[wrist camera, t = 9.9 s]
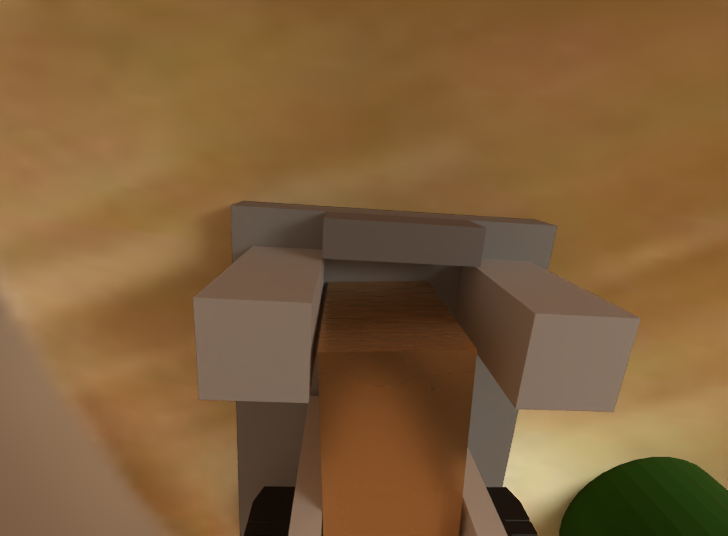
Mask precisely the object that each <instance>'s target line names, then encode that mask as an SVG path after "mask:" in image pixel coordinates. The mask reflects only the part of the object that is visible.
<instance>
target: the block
mask: <svg viewBox="0 0 728 536" xmlns="http://www.w3.org/2000/svg"><path fill="white" fill-rule="evenodd" d="M476 357H477V349H476V347H475V346H474V344H473V343H472V342H471V340H470V339H469V337H468V336H467V335H466V333H465V332H464V330H463V329H462V328H461V326H460V325H459V323H458V322H457V321H456V319H455V318H454V316H453V315H452V314H451V312H450V311H449V309H448V308H447V307H446V305H445V304H444V302H443V301H442V300H441V298H440V297H439V296H438V294H437V293H436V291H435V290H434V289H433V287H432V286H431V284H430V283H429V282H428V281H358V282H328V287H327V294H326V301H325V307H324V314H323V321H322V327H321V334H320V341H319V347H318V378H319V410H320V443H321V476H322V508H323V536H459V528H460V518H461V508H462V498H463V488H464V478H465V468H466V458H467V448H468V438H469V428H470V418H471V408H472V398H473V387H474V377H475V367H476Z"/></svg>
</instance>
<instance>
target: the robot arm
mask: <svg viewBox="0 0 728 536" xmlns="http://www.w3.org/2000/svg"><path fill="white" fill-rule="evenodd" d="M322 523H323V508H322V476H321V443H320V410H319V396H310V397H309V403H308V407H307V413H306V420H305V427H304V433H303V440H302V447H301V453H300V460H299V467H298V473H297V480H296V487H286V486H264V487H263V489H262V490H261V491H260V493H259V494H258V495H257V497H256V498H255V499H254V501H253V503H252V507H251V510H250V514H249V518H248V523H247V525H246V529H245V532H244V536H322ZM459 536H537V532H536V531H535V529H534V527H533V525H532V523H531V522H530V521H529V517H528V516H527V514H526V512H525V510H524V508H523V506H522V504H521V502H520V501H519V500H518V499H517V498H516V497H515V496H514V495H513V494H512V493H511V492H510V491H509V490H508V489H507V488H506V487H486V486H485V484H484V482H483V480H482V477H481V475H480V473H479V471H478V468H477V466H476V464H475V462H474V460H473V457H472V455H471V453H470V451H469V448H467V458H466V468H465V478H464V488H463V498H462V508H461V518H460V528H459Z"/></svg>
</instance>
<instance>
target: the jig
mask: <svg viewBox="0 0 728 536" xmlns="http://www.w3.org/2000/svg"><path fill="white" fill-rule="evenodd" d="M556 229H557V226H556V225H552V224H549V223H545V222H542V221H538V220H532V219H516V218H500V217H485V216H469V215H453V214H438V213H422V212H407V211H391V210H375V209H360V208H344V207H329V206H313V205H297V204H282V203H266V202H250V201H242V202H239V203H236V204H233V205H231V234H232V264H231V265H230V266H229V267H228V268H227V269H226V270H224V271H223V272H222V273H221V274H220V275H219V276H217V277H216V278H215V279H214V280H213V281H212V282H210V283H209V284H208V285H207V286H206V287H205V288H203V289H202V290H201V291H200V292H199V293H198V294H197V295H195V296H194V297H193V306H194V323H195V340H196V357H197V374H198V391H199V400H221V401H236V412H237V447H238V483H239V518H240V536H244V532H245V529H246V525H247V523H248V518H249V514H250V510H251V507H252V503H253V501H254V499H255V498H256V497H257V495H258V494H259V493H260V491H261V490H262V489H263V487H264V486H286V487H296V480H297V473H298V467H299V460H300V453H301V447H302V440H303V433H304V427H305V420H306V413H307V407H308V403H309V397H310V396H319V378H318V347H319V341H320V334H321V327H322V321H323V314H324V307H325V301H326V294H327V287H328V282H358V281H428V282H429V283H430V284H431V286H432V287H433V289H434V290H435V291H436V293H437V294H438V296H439V297H440V298H441V300H442V301H443V302H444V304H445V305H446V307H447V308H448V309H449V311H450V312H451V314H452V315H453V316H454V318H455V319H456V321H457V322H458V323H459V325H460V326H461V328H462V329H463V330H464V332H465V333H466V335H467V336H468V337H469V339H470V340H471V342H472V343H473V344H474V346H475V347H476V349H477V357H476V367H475V377H474V387H473V398H472V408H471V418H470V428H469V438H468V448H469V451H470V453H471V455H472V457H473V460H474V462H475V464H476V466H477V468H478V471H479V473H480V475H481V477H482V480H483V482H484V484H485V486H486V487H502V485H503V481H504V476H505V471H506V466H507V462H508V457H509V452H510V447H511V443H512V438H513V433H514V428H515V424H516V419H517V414H518V409H529V410H563V411H597V412H614V409H615V405H616V402H617V398H618V395H619V392H620V388H621V385H622V381H623V378H624V374H625V371H626V368H627V364H628V361H629V357H630V354H631V350H632V347H633V344H634V340H635V337H636V333H637V330H638V326H639V323H640V320H641V318H639V317H637V316H635V315H633V314H631V313H629V312H627V311H625V310H623V309H621V308H619V307H618V306H616V305H614V304H612V303H610V302H608V301H606V300H604V299H602V298H600V297H598V296H596V295H594V294H592V293H590V292H589V291H587V290H585V289H583V288H581V287H579V286H577V285H575V284H573V283H571V282H569V281H567V280H565V279H563V278H561V277H560V276H558V275H556V274H554V273H552V272H550V271H548V267H549V262H550V258H551V253H552V248H553V243H554V239H555V234H556ZM322 536H323V523H322Z"/></svg>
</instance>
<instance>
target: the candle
mask: <svg viewBox="0 0 728 536" xmlns="http://www.w3.org/2000/svg"><path fill="white" fill-rule="evenodd" d="M560 536H728V490H726V489H725V488H724V487H723V486H722V485H721V484H719V483H718V482H717V481H716V480H715V479H714V478H712V477H711V476H710V475H709V474H708V473H706V472H705V471H704V470H702V469H701V468H700V467H698V466H697V465H695V464H692V463H690V462H688V461H685V460H682V459H676V458H671V457H650V458H644V459H638V460H634V461H630V462H627V463H624V464H621V465H619V466H616V467H614V468H612V469H610V470H608V471H606V472H604V473H603V474H601V475H600V476H598V477H597V478H595V479H594V480H592V481H591V482H590V483H589V484H588V485H586V486H585V487H584V488H583V489H582V490H581V491H580V492H579V493H578V494H577V495H576V497H575V498H574V499H573V501H572V502H571V503H570V505H569V506H568V508H567V510H566V512H565V514H564V516H563V519H562V523H561V527H560Z"/></svg>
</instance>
